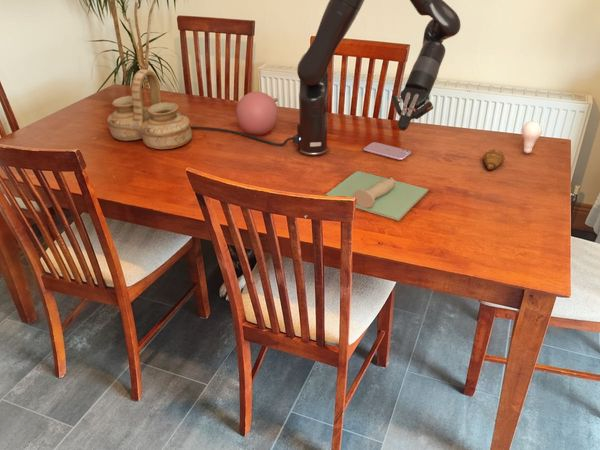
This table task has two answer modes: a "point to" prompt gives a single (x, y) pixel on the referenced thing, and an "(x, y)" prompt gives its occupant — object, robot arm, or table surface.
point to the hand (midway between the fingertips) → (401, 129)
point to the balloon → (257, 113)
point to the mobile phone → (387, 151)
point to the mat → (386, 205)
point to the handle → (373, 192)
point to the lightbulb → (530, 135)
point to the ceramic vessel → (149, 117)
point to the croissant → (493, 159)
